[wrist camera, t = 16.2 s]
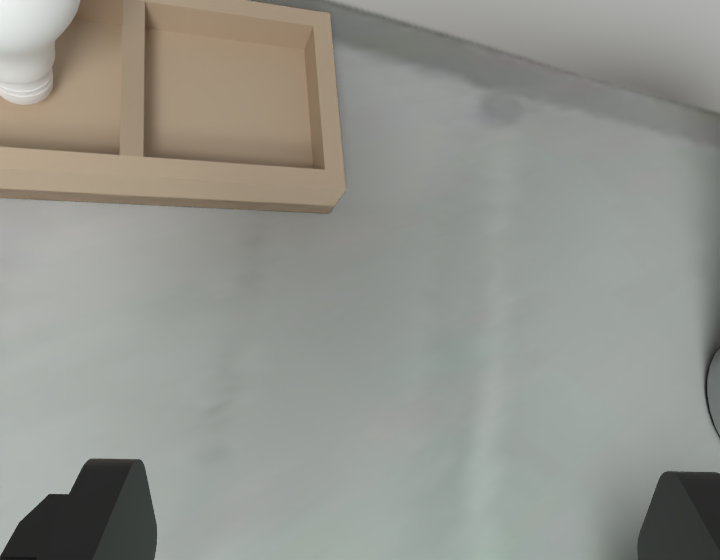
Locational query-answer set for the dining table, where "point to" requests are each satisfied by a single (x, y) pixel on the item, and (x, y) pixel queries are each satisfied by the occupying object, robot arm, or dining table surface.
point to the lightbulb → (30, 46)
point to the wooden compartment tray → (183, 110)
